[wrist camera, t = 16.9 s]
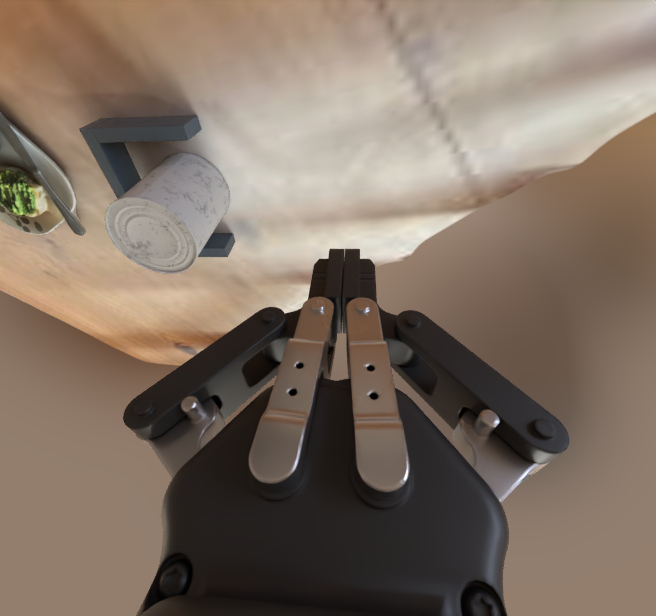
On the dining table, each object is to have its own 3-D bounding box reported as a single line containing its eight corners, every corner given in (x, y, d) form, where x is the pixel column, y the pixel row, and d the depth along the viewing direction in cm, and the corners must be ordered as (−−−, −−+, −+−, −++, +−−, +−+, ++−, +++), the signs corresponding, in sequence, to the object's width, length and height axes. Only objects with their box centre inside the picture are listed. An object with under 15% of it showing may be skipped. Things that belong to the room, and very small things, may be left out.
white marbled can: (148, 148, 39) (87, 192, 30) (223, 156, 39) (184, 202, 30) (170, 218, 46) (126, 270, 37) (235, 224, 45) (205, 278, 37)
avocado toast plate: (122, 205, 45) (103, 221, 41) (59, 253, 52) (39, 270, 49) (-40, 56, 33) (-83, 62, 30) (-91, 144, 41) (-130, 157, 37)
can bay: (197, 115, 36) (183, 125, 33) (235, 241, 48) (227, 257, 45) (100, 118, 37) (78, 128, 34) (161, 241, 49) (149, 256, 46)
